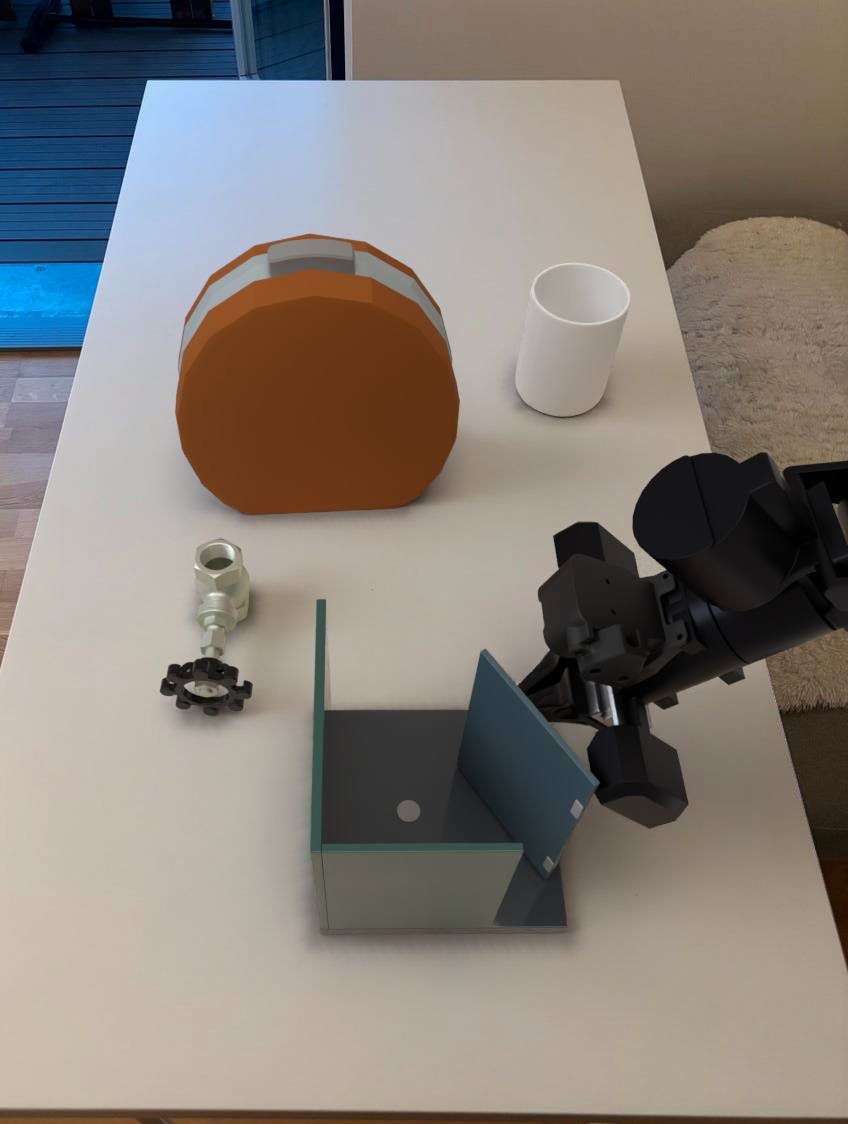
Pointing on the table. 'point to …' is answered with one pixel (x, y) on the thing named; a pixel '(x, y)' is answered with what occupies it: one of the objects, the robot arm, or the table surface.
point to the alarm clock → (315, 380)
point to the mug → (570, 337)
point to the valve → (214, 631)
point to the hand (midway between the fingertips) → (503, 713)
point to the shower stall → (411, 828)
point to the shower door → (522, 767)
